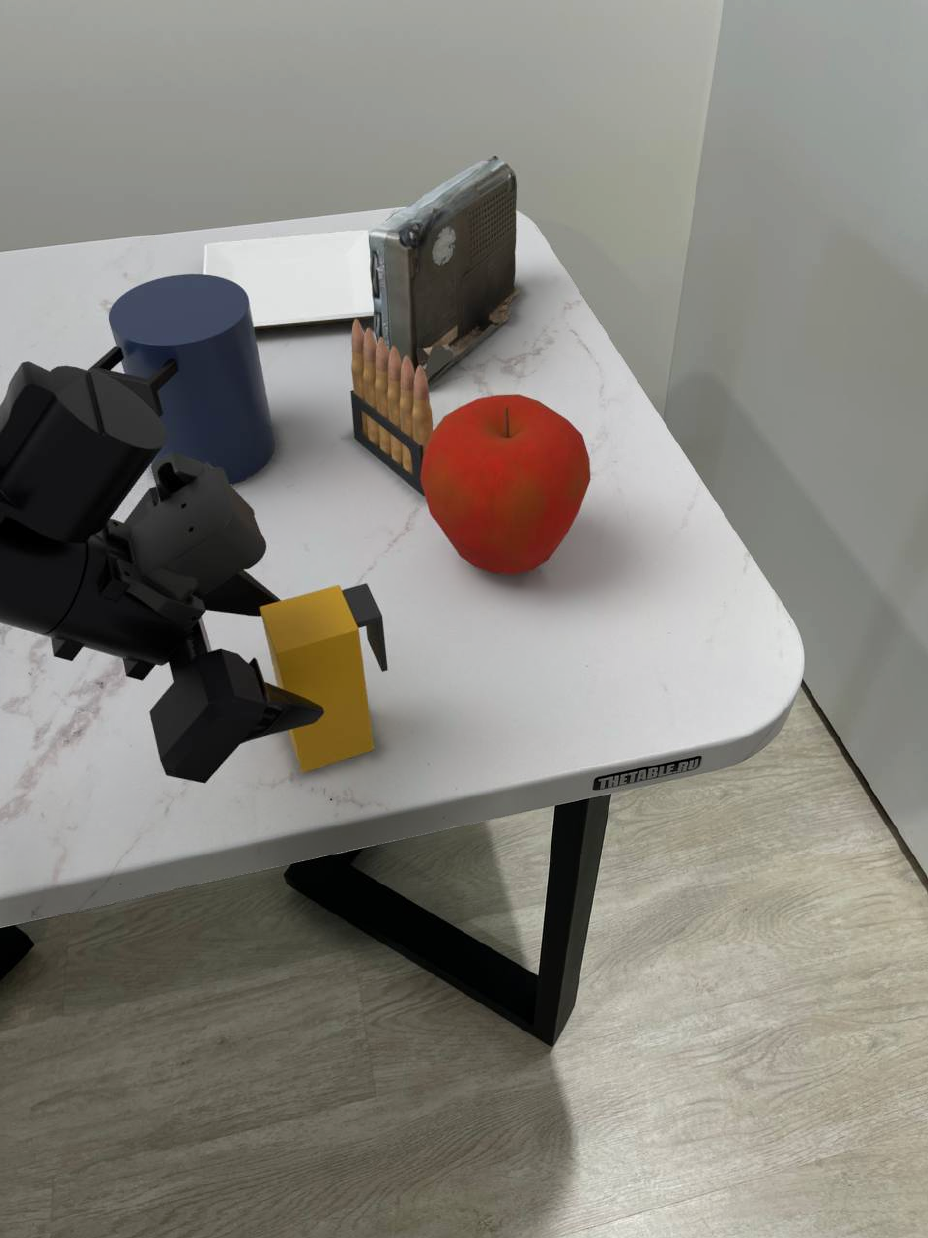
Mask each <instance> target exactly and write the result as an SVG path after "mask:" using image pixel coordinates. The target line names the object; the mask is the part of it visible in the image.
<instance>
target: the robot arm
mask: <svg viewBox="0 0 928 1238" xmlns="http://www.w3.org/2000/svg"><path fill="white" fill-rule="evenodd" d="M87 370H88V369H83V368H81V367H77V366H71V365H59V366H58V365H57V366H55V367H54V368H52V369H50V370H48V369H46V368H44V367H42V366H40V365H38V364H35V363H33V362H31V361H23V362H21V363H20V364H19V366H18V368H17V370H16V371H15V373H14V374H13V376H12V377H11V379H10V381H9V383H8V386H7V390H6V394H5V397H4V398H3V400H2V402H1V404H0V623H1V624H3V625H7V626H11V627H14V628H17V629H21V630H24V631H29V632H31V633H35V634H38V635H41V636H45V637H48V638H50V641H51V646H52V647H51V648H52V653H53V657H55V658H59V659H62V660H65V661H70V662H73V661H74V660H75V658H76V657H77V656H78V655H79V653H80V652H81V650H83V648H86V649H89V650H93V651H97V652H100V653H103V654H107V655H110V656H114V657H117V658H121V659H122V662H123V668H124V672H125V677H128V678H130V679H134V680H139V681H142V682H143V681H144V680H145V679H146V678H147V676H148V675H150V673H151V672H152V670H153V669H154V668H155V667H156V666H160V667H163V666H165V665H166V664H169V669H170V672H171V677H172V680H173V682H172V684H171V685H170V686H169V687H168V688H167V689H166V690H165V692H164V693H163V694H162V695H161V696H160V698H159V699H158V700H157V702H156V703H155V704H154V705H153V706H152V708H150V710H149V716H150V722H151V726H152V730H153V731H152V732H153V734H154V739H155V743H156V748H157V753H158V757H159V761H160V764H161V766H162V768H163V771H164V773H165V776H167V777H172V778H177V779H182V780H186V781H191V782H196V783H201V784H206V783H207V782H208V781H209V779H211V778H212V776H213V775H215V773H216V772H217V771H218V770H219V769H220V768H221V766H223V764H225V761H227V760H228V758H229V757H230V756H231V755H232V754H233V753H234V752H235V751H236V749H238V747H239V746H240V745H242V744H244V743H247V742H250V741H252V740H256V739H261V738H264V737H267V736H271V735H275V734H279V733H283V732H288V730H291V729H295V728H299V727H303V726H306V725H310V724H314V723H315V722H317V721H318V720H319V718H320V717H321V716H322V715H323V714H324V710H323V707H321V706H320V705H318V704H316V703H314V702H312V701H310V700H308V699H306V698H304V697H301V696H299V695H296V694H294V693H291V692H289V691H286V690H284V689H281V688H279V687H278V686H277V685H274V684H271V683H269V682H267V681H265V678H264V676H263V673H262V670H261V667H260V664H259V662H258V659H257V658H256V657H255V656H253V658H252V659H251V660H250V661H249V662H248V661H247V660H246V659H244V658H243V657H242V656H241V655H240V654H239V653H237V652H233V651H230V650H227V649H224V648H222V647H221V648H218V649H214V650H212V647H211V642H210V639H209V636H208V633H207V629H206V626H205V622H204V619H203V616H204V615H205V613H206V612H207V611H208V612H217V613H223V614H232V615H240V616H248V617H257V618H258V617H259V618H260V617H261V618H262V616H261V612H260V607H261V606H264V605H268V604H272V603H275V602H279V601H282V599H280V597H278V596H277V595H275V594H274V593H273V592H272V591H270V589H268V588H267V587H266V586H265V585H263V584H262V583H261V582H260V581H259V580H257V579H256V578H255V577H254V576H252V575H251V574H250V573H249V572H248V571H246V570H250V569H251V568H253V567H254V566H256V565H257V564H258V563H259V562H260V561H261V560H262V559H263V557H264V556H265V554H266V551H267V542H266V539H265V536H264V535H263V534H262V532H261V530H260V527H259V524H258V522H257V520H256V516H255V515H256V513H255V510H254V509H253V507H252V506H251V505H250V504H249V503H248V502H247V501H246V500H245V499H244V498H243V496H241V494H239V493H238V492H237V491H236V490H235V488H233V487H232V485H230V484H229V481H228V479H227V476H226V473H225V471H224V469H223V468H221V467H218V466H217V467H212V466H211V465H210V464H209V463H208V462H206V463H205V464H202V463H201V462H200V461H197V460H194V459H191V458H188V457H185V456H182V455H179V454H176V453H173V452H170V453H168V454H167V455H166V456H164V457H163V458H161V459H160V460H158V461H157V462H155V463H154V464H151V462H152V461H153V459H154V458H155V457H156V455H157V454H158V453H159V451H160V450H161V449H162V447H163V446H164V444H165V443H166V442H167V433H166V430H165V428H164V426H163V424H162V422H161V421H160V419H159V418H158V416H157V415H156V414H155V413H154V411H153V410H152V409H151V408H150V407H149V406H148V405H147V404H146V403H145V402H144V401H143V400H142V399H141V398H140V397H138V396H137V395H136V394H135V393H133V392H132V391H131V390H130V389H128V388H127V387H125V386H124V385H122V384H121V383H119V382H118V381H116V380H115V379H113V378H111V377H109V376H108V375H106V374H104V373H102V372H100V371H97V370H95V369H92V368H91V369H90V370H89V371H87ZM150 465H151V466H150ZM149 467H150V468H151V472H152V476H153V479H154V480H153V481H154V484H155V486H153V487H148V489H147V491H146V492H145V493H144V494H143V496H142V497H141V498H140V500H139V501H138V502H137V504H136V505H135V507H133V510H132V511H131V512H130V513H129V515H128V516H127V518H126V519H125V520H124V522H122V521H120V520H117V519H115V518H112V517H113V515H114V514H115V513H116V511H117V510H118V509H119V508H120V506H121V505H122V503H123V502H124V501H125V499H126V498H127V496H128V495H129V494H130V493H131V491H132V489H133V488H134V487H135V485H137V483H138V482H139V480H140V479H141V477H142V476H143V475H144V473H145V472H146V471H147V469H148V468H149Z"/></svg>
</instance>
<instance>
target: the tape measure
mask: <svg viewBox="0 0 928 1238" xmlns="http://www.w3.org/2000/svg"><path fill="white" fill-rule="evenodd" d="M341 587H342V586H340V585H339V584H338V585H333V586H330V587H326V588H323V589H319V590H316V591H312V592H308V593H304V594H301V595H298V596H294V597H289V598H287V599H283V600H281V601H279V602H275V603H272V604H268V605H264V606H261V607H260V612H261V616H262V617H261V621H262V624H263V625H262V626H263V629H264V633H265V638H266V642H267V646H268V651H269V655H270V660H271V663H272V668H273V672H274V677H275V682H276V687H279V688H281V689H284V690H286V691H289V692H291V693H294V694H296V695H299V696H301V697H304V698H306V699H308V700H310V701H312V702H314V703H316V704H318V705H320V706H321V707H323V710H324V714H323V715H322V716H321V717H320V718H319V720H318V721H317V722H315V723H314V724H310V725H306V726H303V727H299V728H295V729H291V730H287V733H288V735H289V737H290V741H291V744H292V746H293V751H294V752H295V755H296V758H297V761H298V764H299V767H300V771H301V772H302V773H307V772H310V771H313V770H315V769H319V768H322V767H325V766H328V765H331V764H334V763H337V762H341V761H345V760H347V759H350V758H353V757H357V756H361V755H363V754H366V753H369V752H372V751H375V744H374V738H373V729H372V720H371V713H370V707H369V698H368V690H367V682H366V675H365V667H364V659H363V652H362V645H361V637H360V628H364V627H365V629H366V637H367V641H368V644H369V646H370V648H371V650H372V653H373V655H374V657H375V660H376V661H377V664H378V666H379V668H380V671H381V673H384V672H388V670H389V668H388V659H387V650H386V640H385V630H384V621H383V614H382V613H381V609H380V608H379V606H378V604H377V601H376V599H375V598H374V594H373V592H372V591H371V588H370V586H369V584H368V583H367V582H366V583H362V584H358V585H355V586H351V587H348V588H344V589H342V588H341Z"/></svg>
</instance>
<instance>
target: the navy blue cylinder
mask: <svg viewBox="0 0 928 1238" xmlns="http://www.w3.org/2000/svg"><path fill="white" fill-rule="evenodd" d="M108 322H109V323H108V324H109V326H110V329H111V330H110V331H111V332H112V336H113V340H114V343H115V346H113V347H112V348H111V349H110V350H109V351H107V352H106V353H105V354H104V355H103V356H102V357H101V358H100V359H98V360H97V361H96V362H95V363H93V364H92V365H91V366H90V367H89V368H88V369H86V370H87V371H89V370H90V369H91V368H92V369H95V370H97V371H100V372H102V373H104V374H106V375H108V376H109V377H111V378H113V379H115V380H116V381H118V382H119V383H121V384H122V385H124V386H125V387H127V388H128V389H130V390H131V391H132V392H133V393H135V394H136V395H137V396H138V397H140V398H141V399H142V400H143V401H144V402H145V403H146V404H147V405H148V406H149V407H150V408H151V409H152V410H153V411H154V413H155V414H156V415H157V416H158V418H159V419H160V421H161V422H162V424H163V426H164V428H165V430H166V433H167V442H166V443H165V444H164V446H163V447H162V449H161V450H160V451H159V453H158V454H157V455H156V457H155V458H154V459H153V461H152V462H151V464H150V465H152V464H154V463H155V462H157V461H158V460H160V459H161V458H163V457H164V456H166V455H167V454H168V453H170V452H173V453H176V454H179V455H182V456H185V457H188V458H191V459H194V460H197V461H200V462H201V463H202V464H205V463H206V462H208V463H209V464H210V465H211V466H212V467H217V466H218V467H221V468H223V469H224V471H225V473H226V476H227V479H228V481H229V484H230V486H232V485H234V484H238V483H240V482H242V481H245V480H247V479H249V478H251V477H252V476H254V475H255V474H257V473H259V472H260V471H261V470H262V469H263V468H264V467H265V466H266V465H268V463H269V462H270V460H271V459H272V457H273V455H274V452H275V449H276V439H275V433H274V430H273V429H274V428H273V423H272V418H271V411H270V407H269V401H268V396H267V391H266V386H265V380H264V379H265V378H264V375H263V374H264V373H263V368H262V364H261V357H260V352H259V348H258V342H257V336H256V331H255V330H256V329H254V325H253V319H252V314H251V308H250V303H249V298H248V295H247V293H246V292H245V290H244V289H243V288H242V287H241V286H239V285H238V284H236V283H235V282H232V281H230V280H228V279H225V278H222V277H218V276H213V275H205V274H203V273H202V274H201V273H184V274H175V275H174V274H173V275H168V276H163V277H159V278H155V279H152V280H149V281H146V282H143V283H141V284H138V285H137V286H135V287H132V288H131V289H129V290H128V291H126V292H125V293H123V294H122V295H121V296H120V297H119V298H117V299H116V300H115V302H114V303H113V304H112V305H111V307H110V309H109V313H108ZM119 363H121V366H122V369H123V372H124V373H123V372H119V371H115V370H113V369H114V368H115V367H116V366H118V365H119Z"/></svg>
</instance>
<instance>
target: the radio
mask: <svg viewBox="0 0 928 1238" xmlns="http://www.w3.org/2000/svg"><path fill="white" fill-rule="evenodd" d="M517 200H518V182H517V175H516V173H515V171H514V169H512V167H511V166H510V165H509V164H508V163H506V162H505V161H503V160H502V159H499V157H497V156H496V155H493V156H492V157H491V158H489V159H485V160H482V161H481V160H480V161H478V162H477V163H475V164H474V165H472V166H471V167H467V168H465V169H464V170H462V171H461V172H460V173H457V174H456V175H454V176H453V177H451V178H450V179H449V180H446V181H445V182H442V183H441V184H440V185H438V186H437V187H436V188H434V189H433V190H431V191H430V192H428V193H425V194H423V195H422V196H421V198H420V199H419V200H417V201H416V202H414V203H412V204H409V205H408V206H406V207H404V208H401V209H398V210H397V211H396V212H394V213H392V215H390V216H389V217H388V218H387V219H386V220H385V221H384V222H382V224H380V225H378V226H376V227H374V228H373V229H371V230H370V231H371V233H370V234H369V247H370V259H371V261H370V272H371V282H372V296H373V303H374V318H373V329H374V334H375V335H374V336H375V341H376V344H377V343H378V340H379V338H380V337H383V339H384V340H385V343H386V345H387V348H388V351H389V355H390V351H391V348H392V347H393V346H395V347H396V349H397V350H398V353H399V355H400V359H401V363H403V360H404V357H405V356H406V355H408V356H409V358H410V360H411V362H412V365H413V368H414V373H416V370H417V367H418V366H419V365H421V366H422V367H423V369H424V371H425V374H426V377H427V382H428V386H430V384H432V383H433V382H434V381H436V380H437V379H438V378H439V377H440V376H442V375H443V374H444V373H445V372H446V371H447V370H449V369H450V368H452V366H453V365H455V364H456V363H457V362H458V361H460V360H461V359H462V358H463V357H464V356H466V355H467V354H468V353H470V352H471V351H472V350H473V349H474V348H475V347H477V346H478V345H479V344H481V342H482V341H484V340H485V339H487V337H489V336H490V335H491V334H492V333H493V332H495V331H496V330H497V329H498V328H500V326H502V325H503V324H504V323H505V322H507V321H509V319H510V317H509V316H510V315H511V312H510V310H509V305H510V304H511V302H512V300H514V299H515V298H516V297H517V296H518V295H519V294H520V291H519V290H518V289H517V288H516V287H515V286H516V285H515V283H516V273H517V266H516V265H517V264H516V263H517V261H516V259H517V257H516V251H517V250H516V249H517V230H518V229H517Z"/></svg>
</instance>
